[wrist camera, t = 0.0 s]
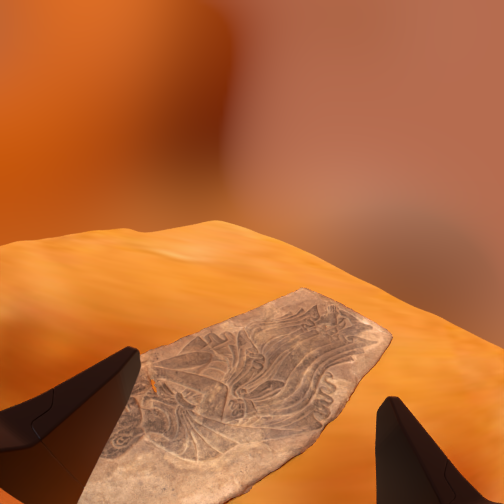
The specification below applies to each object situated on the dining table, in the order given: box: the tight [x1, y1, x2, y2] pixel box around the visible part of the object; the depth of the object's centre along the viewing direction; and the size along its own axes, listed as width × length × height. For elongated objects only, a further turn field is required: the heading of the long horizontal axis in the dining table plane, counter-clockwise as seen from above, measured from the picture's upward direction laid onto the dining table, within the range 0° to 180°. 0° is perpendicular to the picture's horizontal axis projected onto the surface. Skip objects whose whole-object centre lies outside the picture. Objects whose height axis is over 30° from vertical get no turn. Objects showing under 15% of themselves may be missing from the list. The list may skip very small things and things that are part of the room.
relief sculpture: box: [77, 288, 393, 504], centre depth 29 cm, size 19×45×1 cm, turn 134°
